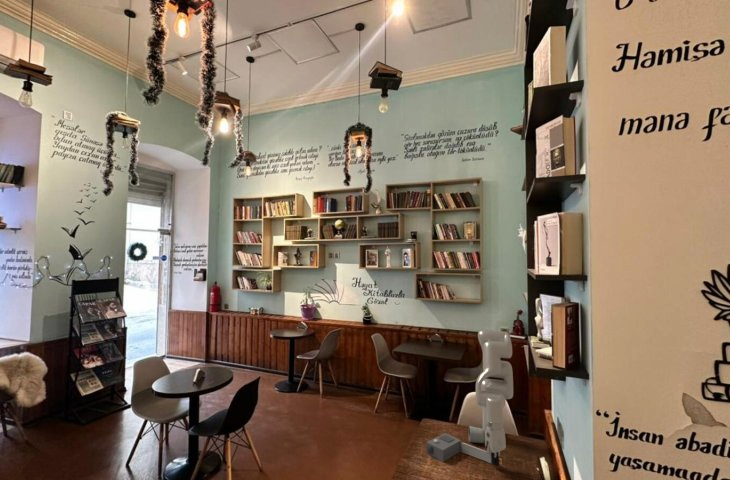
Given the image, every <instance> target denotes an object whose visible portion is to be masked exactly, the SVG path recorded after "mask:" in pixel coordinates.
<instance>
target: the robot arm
mask: <svg viewBox="0 0 730 480" xmlns="http://www.w3.org/2000/svg"><path fill="white" fill-rule="evenodd" d="M477 339H478V342H479V346H480V347H481V351H482V370H483V371H482V372H480V374H479V375H478V377H477V379H476V382H475V402H476V404H477V405H478V406H480V407H482V408H481V409H482V413H481V414H482V429H483V430H484V432H485V442H484V447H485V450H486V451H487V454H489V455H491V463H492V465H493V466H495V467H500V464H499V458H500V456H501V451H503V450H505V449H506V447H507V441H506V432H505V428H504V411H503V410H504V408H505V406H506V403H507V400H510V399H513V397H514V377H513V367H512V364H511V363H510V362H509V361H507V360H501V358H502V359H511V358H512V356H513V344H512V339H511V335H510V333H509V332H507V331H503V330H502V331H501V330H500V331H499V330H492V329H491V330H488V329H483V330H481V329H480V330H479V331H478V333H477ZM491 377H492V378H491ZM493 378H497V379H493ZM498 378H499V379H498ZM491 463H490V464H491Z"/></svg>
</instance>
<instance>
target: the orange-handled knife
mask: <svg viewBox="0 0 730 480" xmlns="http://www.w3.org/2000/svg"><path fill="white" fill-rule="evenodd" d="M460 453H462V454H466V455H469V456H471V457H474V458H476V459H479V460H482V461H484V462H486V463H489V464H492V463H491V455H489V454H487V450H486V449H485V450H484V449H481V448H479V447H476V446H473V445H471V444H468V443H465V442H464V441H461V452H460ZM502 460H503V459H502V458H500V457H499V466H501V465H502ZM492 465H493V464H492Z"/></svg>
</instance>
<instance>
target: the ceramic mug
mask: <svg viewBox="0 0 730 480" xmlns="http://www.w3.org/2000/svg"><path fill="white" fill-rule="evenodd" d="M467 432H468V434H467V435H468V442H469V443H475V444H476V443H477V444H485V432H484V430H483V427H482V428H481V427H478V426H477V427H476V426H470V425H469V426H468V431H467Z"/></svg>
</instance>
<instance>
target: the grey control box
mask: <svg viewBox="0 0 730 480" xmlns="http://www.w3.org/2000/svg"><path fill="white" fill-rule="evenodd" d="M461 442H462V439H460V438H457V437H455V436H453V435H450V434H449V433H446V432H444V433H442V434H440V435H438V436H436V437H434V438H432V439H430V440H428V441H426V454H427V455H429V456H430V457H433V458H435V459H436V460H439V461H440V462H442V463H444V462H446V461H447V460H449V459H451V458H452V457H454V456H456V455H457V454H459V453H462V452H461Z"/></svg>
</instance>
